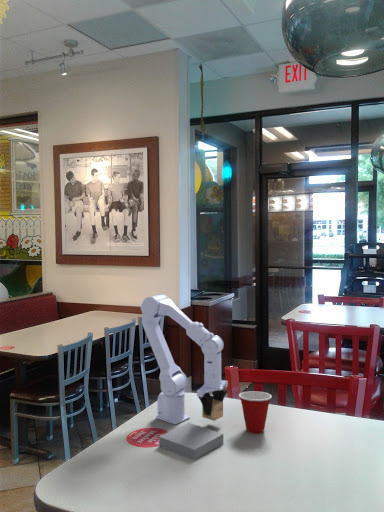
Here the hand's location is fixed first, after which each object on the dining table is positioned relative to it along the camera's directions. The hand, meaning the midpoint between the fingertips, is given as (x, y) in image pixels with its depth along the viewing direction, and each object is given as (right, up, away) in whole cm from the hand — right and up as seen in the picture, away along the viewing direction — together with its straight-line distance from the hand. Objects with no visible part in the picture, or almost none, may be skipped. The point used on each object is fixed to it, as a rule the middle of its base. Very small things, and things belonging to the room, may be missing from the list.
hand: (212, 412), depth 160 cm
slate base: (-7, -5, -15) cm, 17 cm away
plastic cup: (+14, -5, -4) cm, 15 cm away
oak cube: (0, -2, 0) cm, 2 cm away
